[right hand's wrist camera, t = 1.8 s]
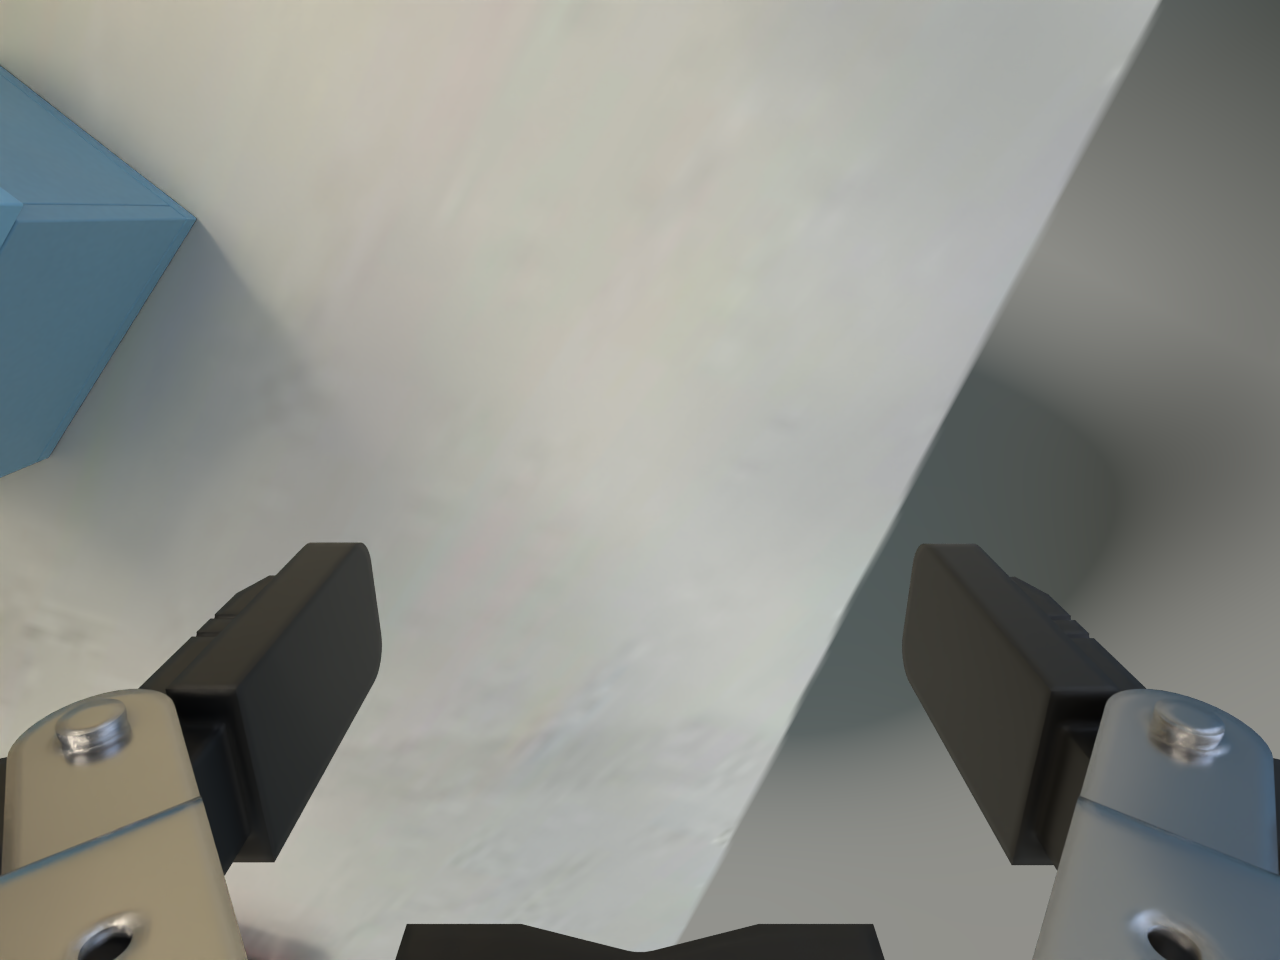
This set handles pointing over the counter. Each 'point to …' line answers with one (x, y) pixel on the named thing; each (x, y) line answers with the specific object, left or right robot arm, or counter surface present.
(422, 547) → the counter surface
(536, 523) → the counter surface
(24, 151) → the chest
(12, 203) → the lid
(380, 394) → the counter surface
